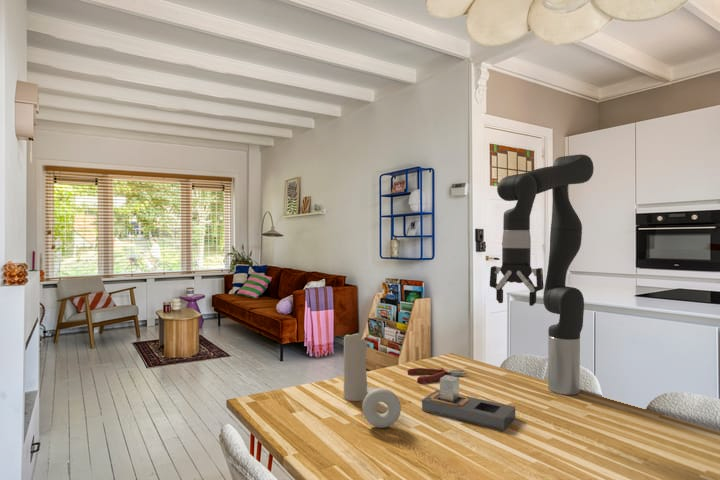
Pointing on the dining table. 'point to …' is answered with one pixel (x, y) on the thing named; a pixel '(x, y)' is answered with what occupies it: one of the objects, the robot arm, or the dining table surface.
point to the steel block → (449, 389)
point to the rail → (471, 410)
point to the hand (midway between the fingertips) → (515, 304)
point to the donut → (373, 415)
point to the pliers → (433, 374)
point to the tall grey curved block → (355, 368)
